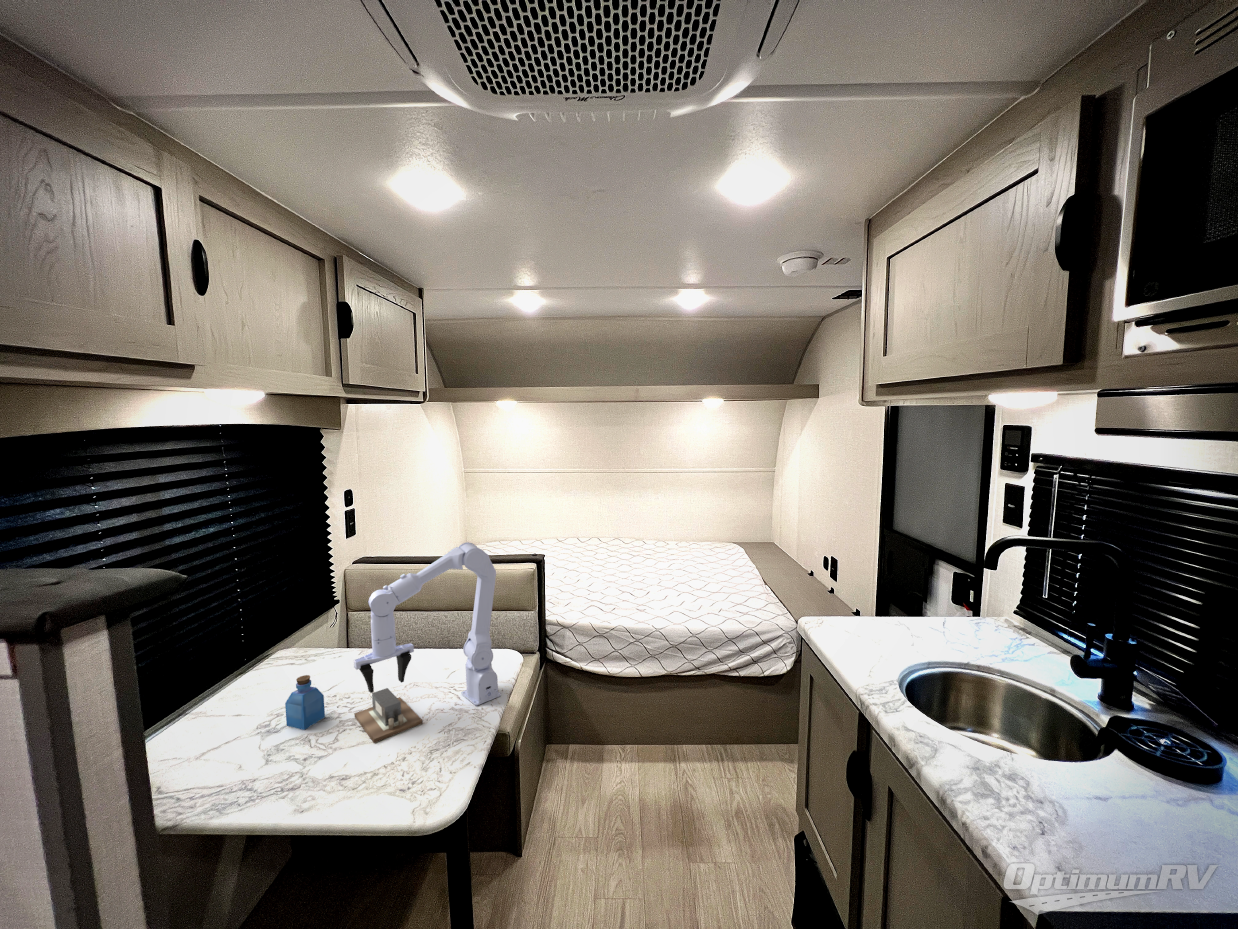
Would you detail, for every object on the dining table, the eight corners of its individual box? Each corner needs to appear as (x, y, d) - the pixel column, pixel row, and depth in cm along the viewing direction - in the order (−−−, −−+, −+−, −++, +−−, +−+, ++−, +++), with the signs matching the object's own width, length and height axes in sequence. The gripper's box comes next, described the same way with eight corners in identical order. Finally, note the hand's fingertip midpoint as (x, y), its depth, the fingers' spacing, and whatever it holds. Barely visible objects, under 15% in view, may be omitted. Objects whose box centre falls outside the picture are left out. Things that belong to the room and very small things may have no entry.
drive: (401, 720, 134) (400, 701, 133) (385, 726, 131) (384, 707, 130) (388, 705, 141) (387, 687, 140) (372, 711, 138) (371, 693, 138)
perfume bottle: (304, 730, 132) (301, 685, 131) (286, 726, 134) (283, 682, 133) (325, 717, 138) (322, 674, 137) (307, 713, 140) (305, 671, 139)
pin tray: (422, 723, 134) (421, 710, 133) (373, 743, 126) (373, 729, 125) (400, 700, 145) (399, 688, 145) (354, 717, 137) (353, 704, 137)
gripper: (406, 624, 142) (408, 671, 143) (349, 639, 132) (352, 690, 133) (415, 631, 137) (418, 680, 138) (357, 648, 127) (360, 700, 128)
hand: (386, 686), depth 135 cm, fingers open, 7 cm apart
